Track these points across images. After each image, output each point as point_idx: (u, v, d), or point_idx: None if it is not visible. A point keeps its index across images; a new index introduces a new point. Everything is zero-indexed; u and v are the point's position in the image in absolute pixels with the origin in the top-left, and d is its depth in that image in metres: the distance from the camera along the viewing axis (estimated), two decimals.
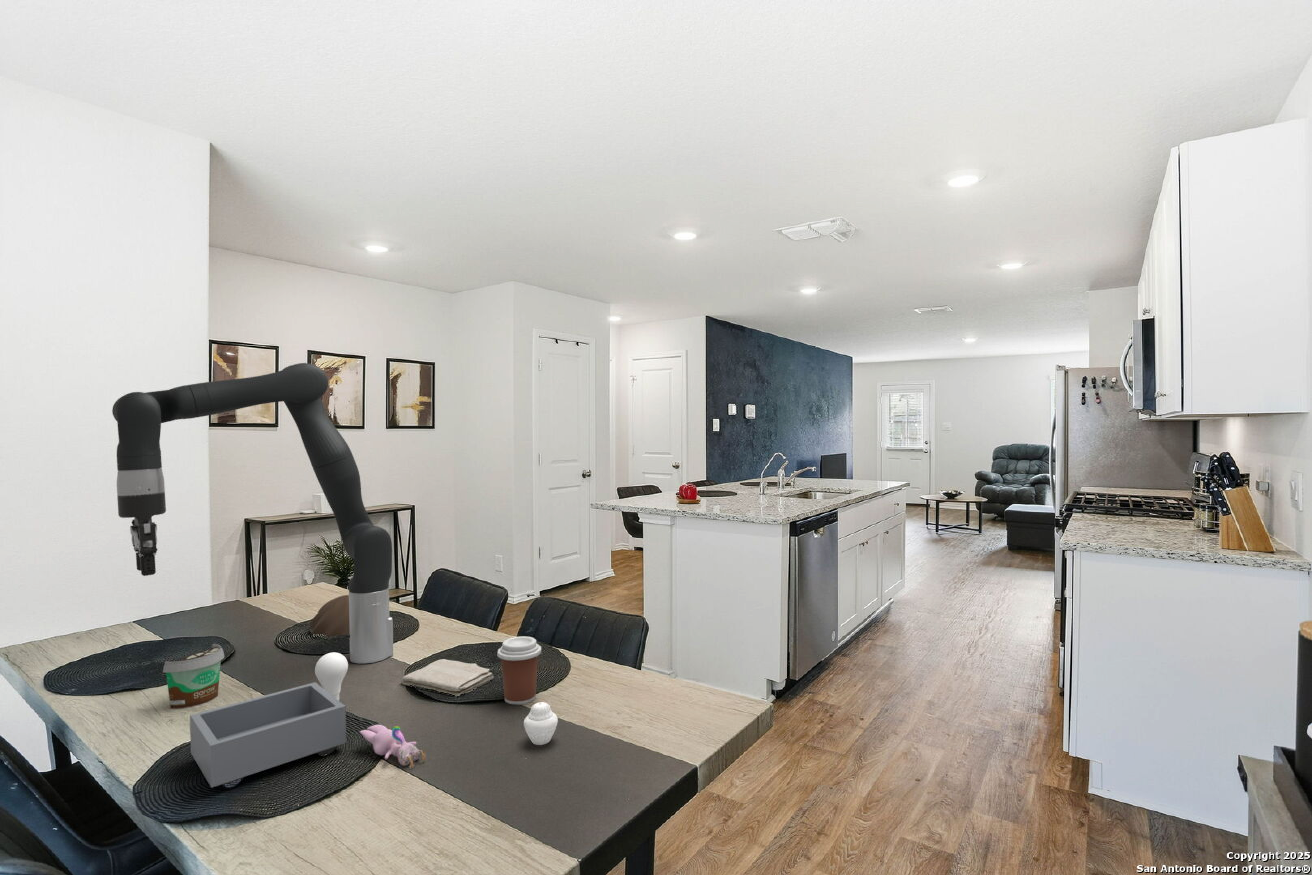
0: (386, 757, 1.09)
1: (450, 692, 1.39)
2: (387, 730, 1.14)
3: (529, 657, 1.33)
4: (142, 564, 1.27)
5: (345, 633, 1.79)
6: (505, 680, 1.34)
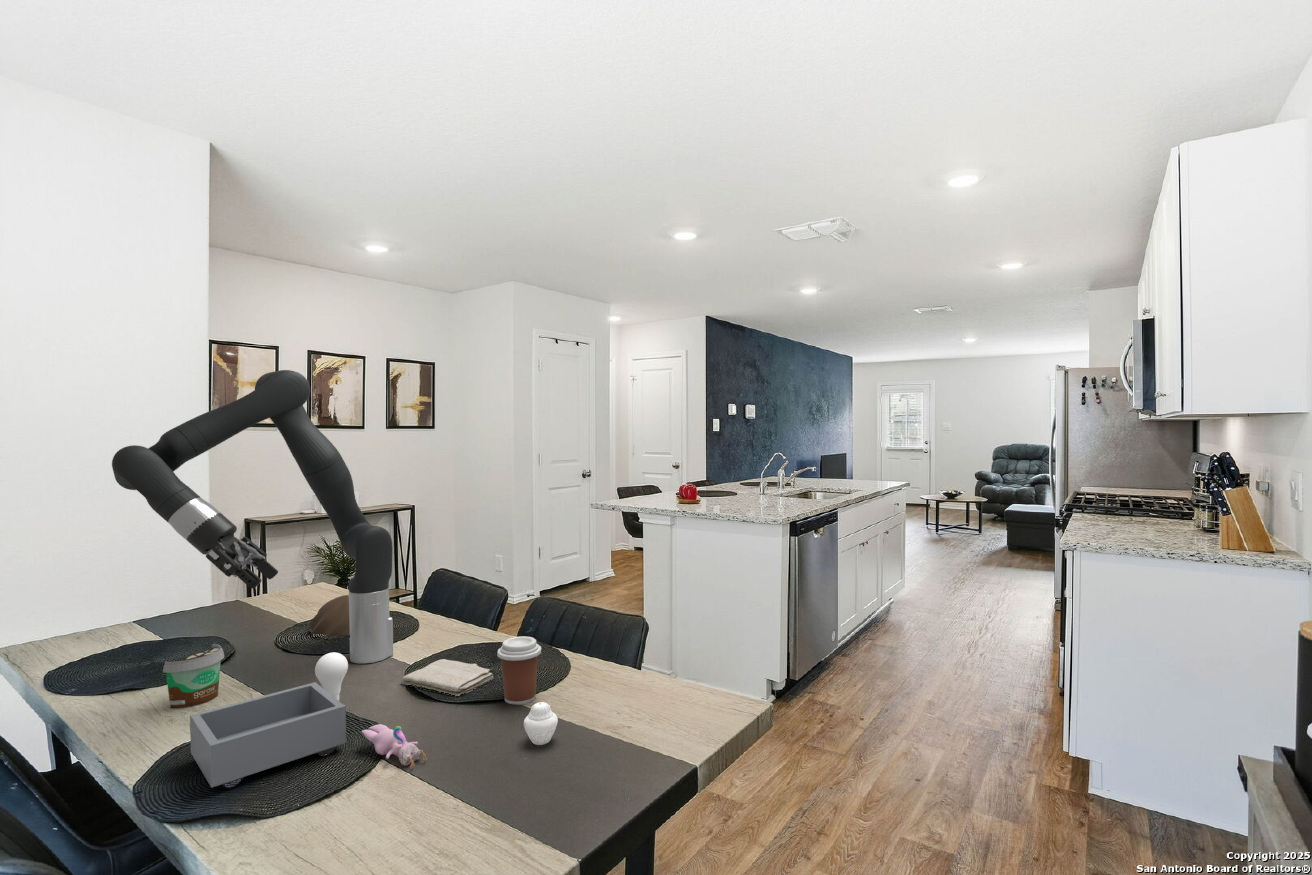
0: (387, 757, 1.09)
1: (450, 692, 1.39)
2: (388, 730, 1.14)
3: (529, 657, 1.33)
4: None
5: (345, 633, 1.79)
6: (505, 680, 1.34)
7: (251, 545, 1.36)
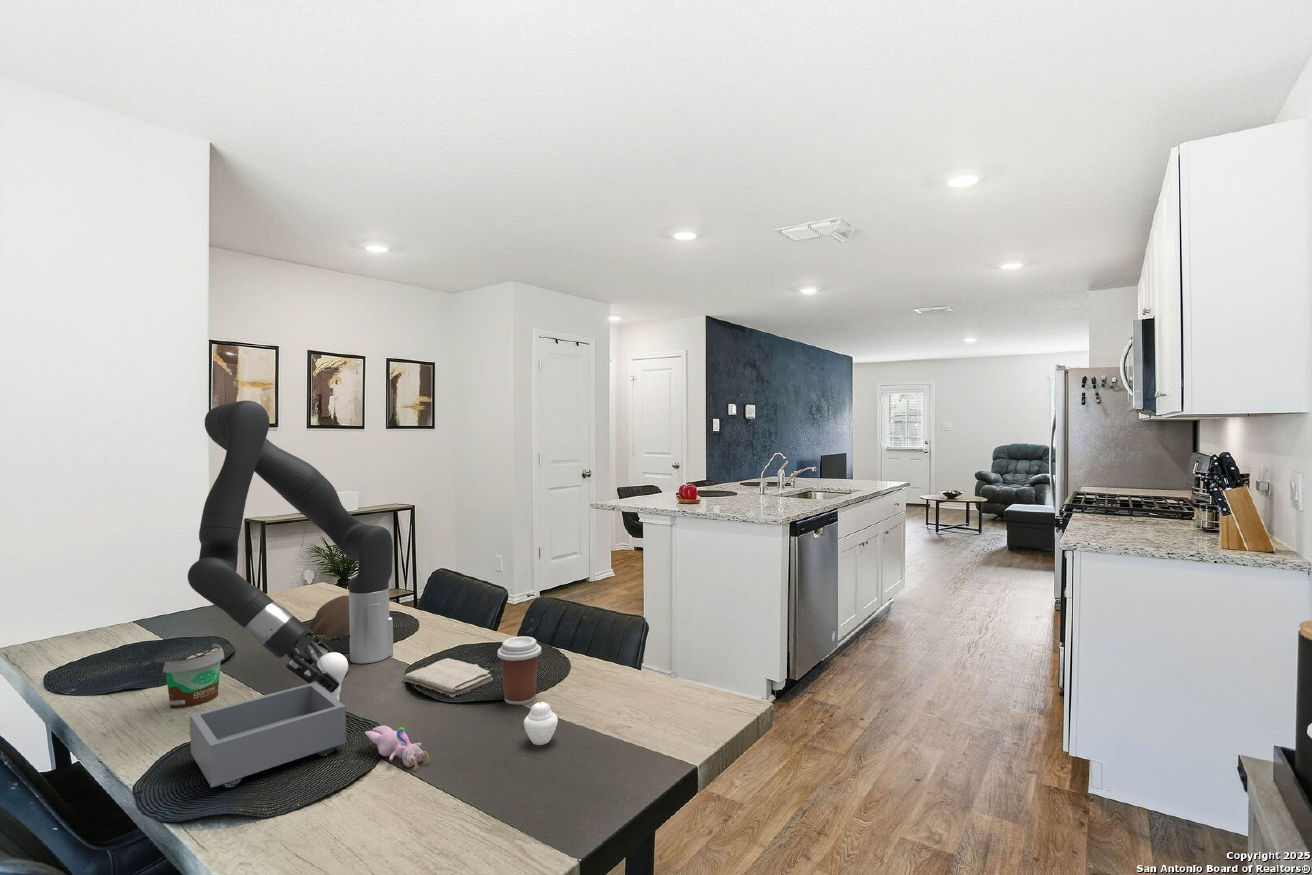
0: (390, 758, 1.09)
1: (446, 692, 1.39)
2: (392, 731, 1.14)
3: (529, 657, 1.33)
4: None
5: (347, 633, 1.79)
6: (505, 680, 1.34)
7: (322, 645, 1.38)
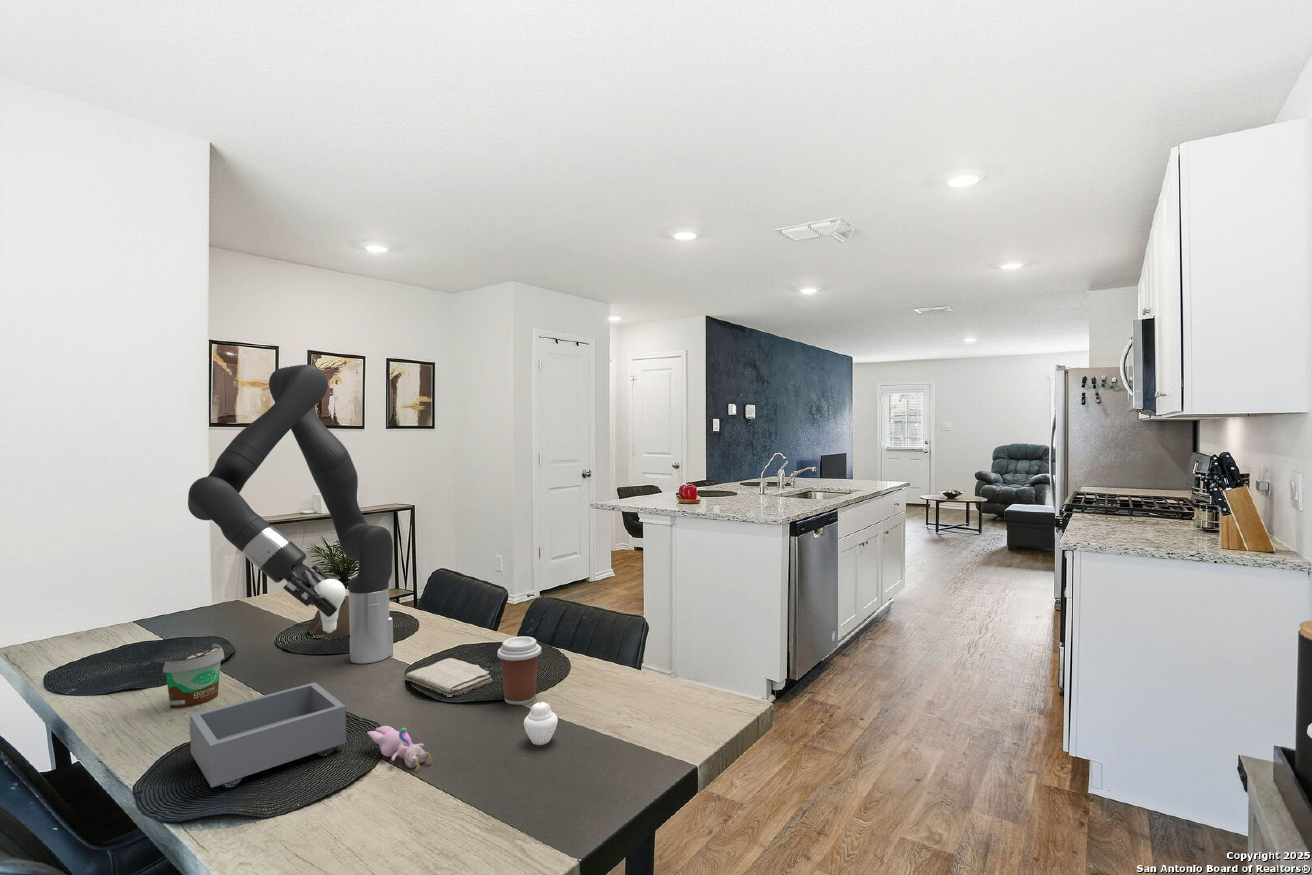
0: (393, 759, 1.08)
1: (444, 692, 1.39)
2: (394, 731, 1.13)
3: (529, 657, 1.33)
4: None
5: (347, 633, 1.79)
6: (505, 680, 1.34)
7: (320, 573, 1.38)
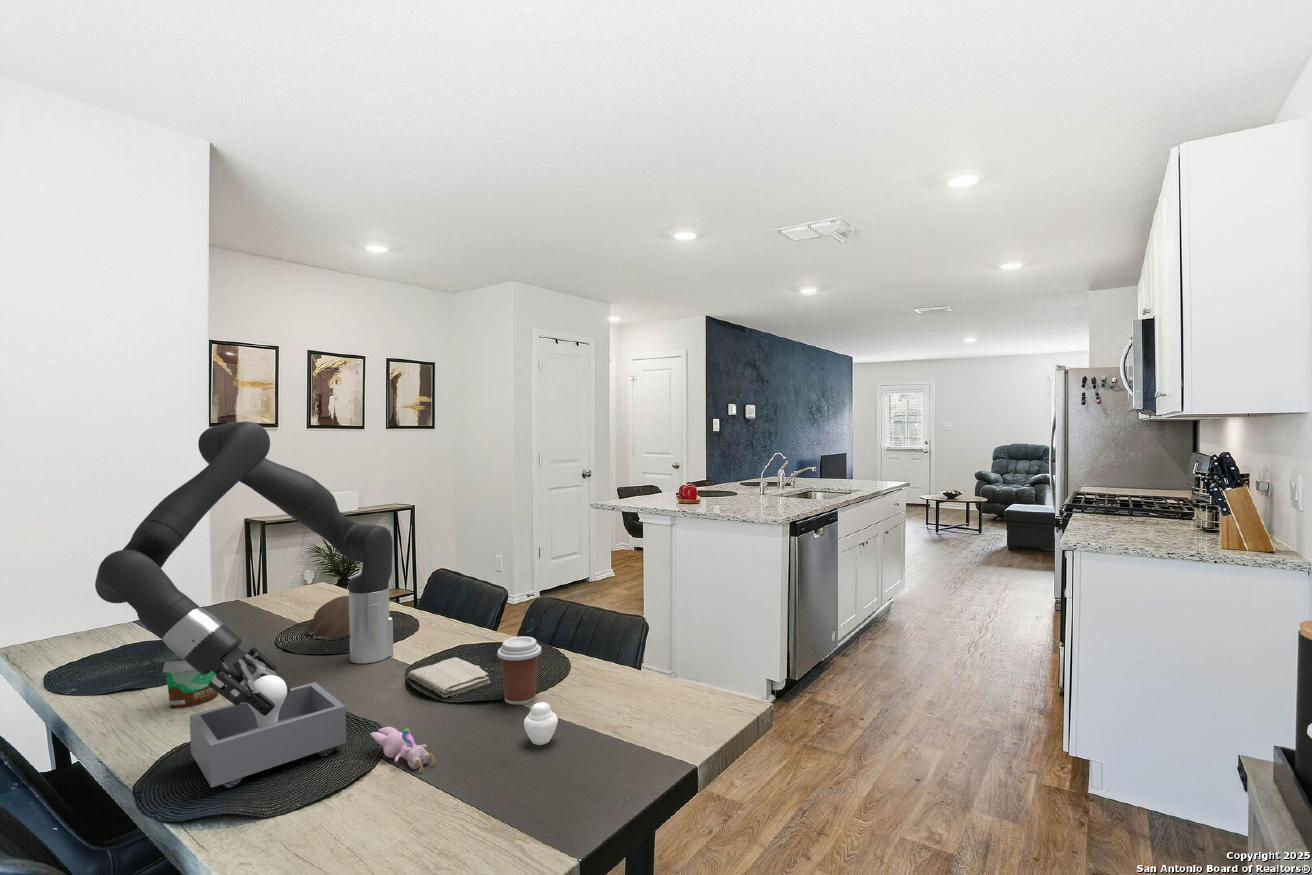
0: (396, 760, 1.08)
1: (440, 693, 1.39)
2: (397, 732, 1.13)
3: (529, 657, 1.33)
4: None
5: (349, 633, 1.79)
6: (505, 680, 1.34)
7: (259, 657, 1.18)
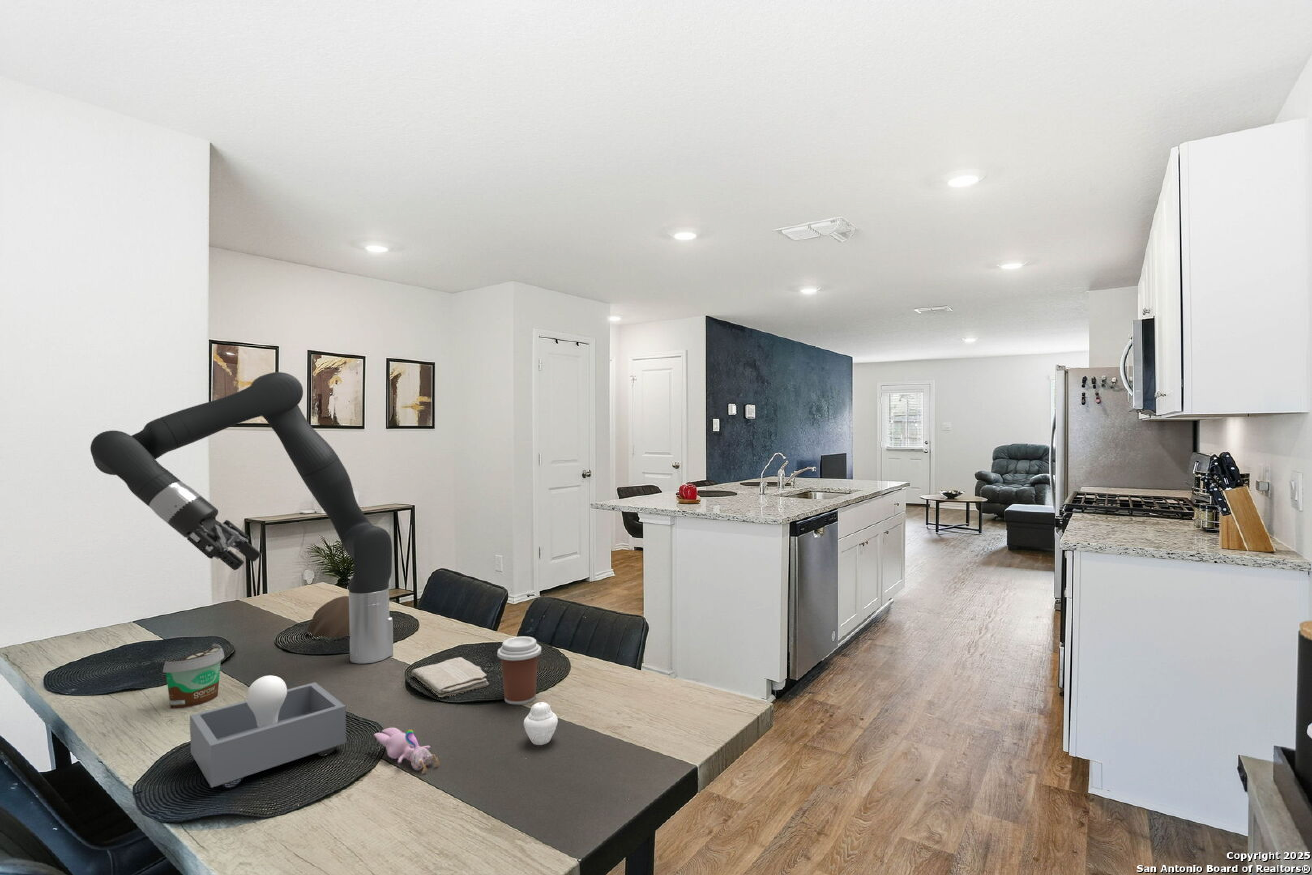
0: (399, 761, 1.08)
1: (436, 693, 1.39)
2: (401, 733, 1.13)
3: (529, 657, 1.33)
4: None
5: None
6: (505, 680, 1.34)
7: (233, 528, 1.37)
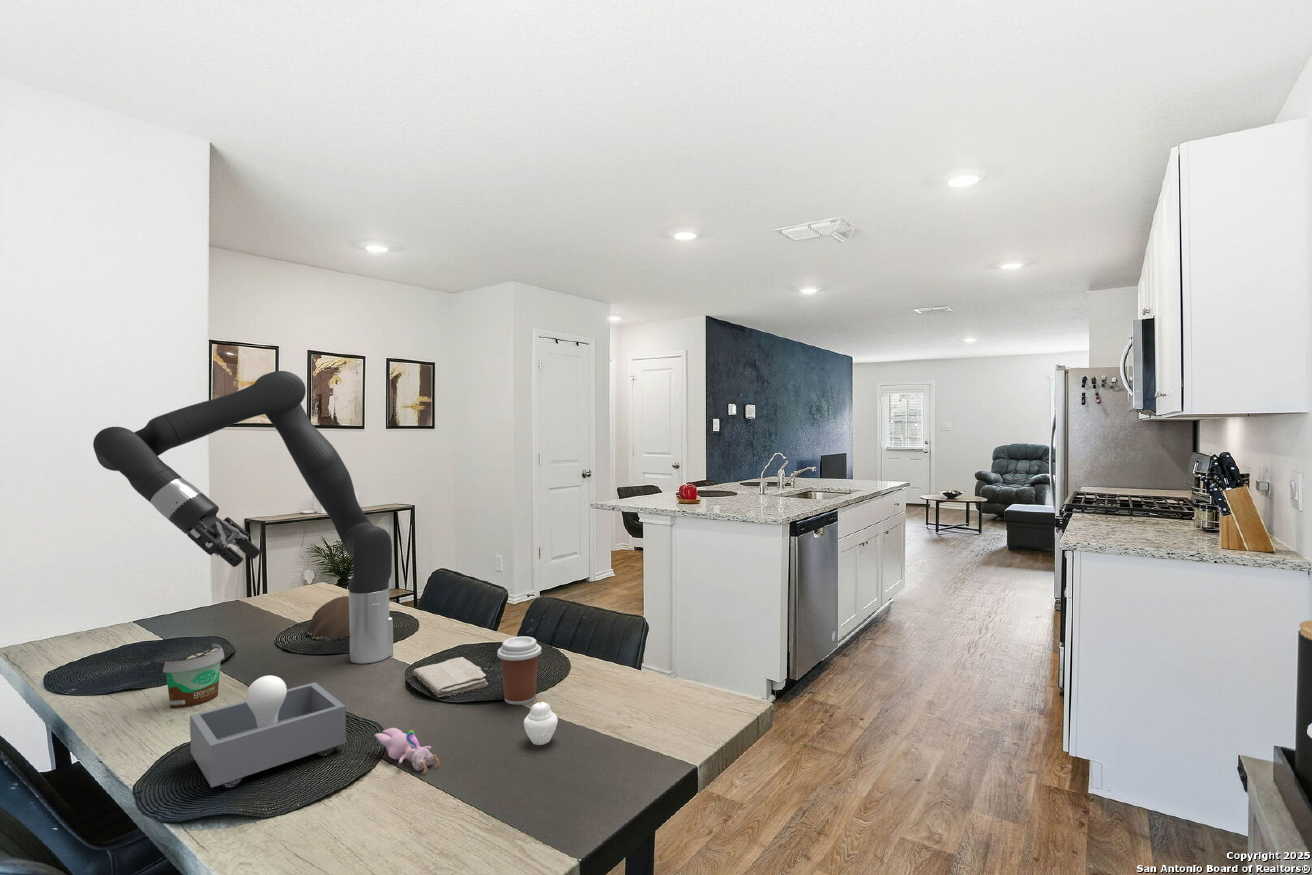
0: (400, 762, 1.07)
1: (435, 693, 1.39)
2: (402, 734, 1.12)
3: (529, 657, 1.33)
4: None
5: None
6: (505, 680, 1.34)
7: (234, 525, 1.38)
